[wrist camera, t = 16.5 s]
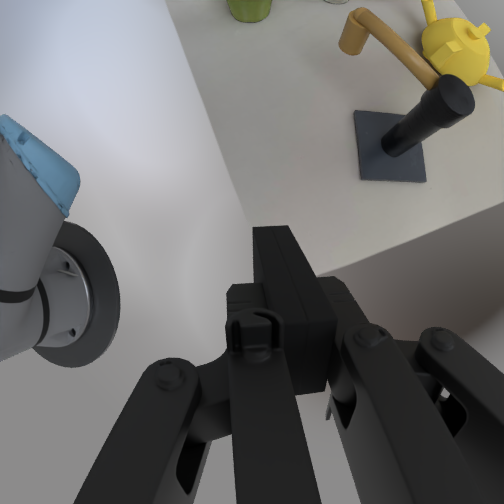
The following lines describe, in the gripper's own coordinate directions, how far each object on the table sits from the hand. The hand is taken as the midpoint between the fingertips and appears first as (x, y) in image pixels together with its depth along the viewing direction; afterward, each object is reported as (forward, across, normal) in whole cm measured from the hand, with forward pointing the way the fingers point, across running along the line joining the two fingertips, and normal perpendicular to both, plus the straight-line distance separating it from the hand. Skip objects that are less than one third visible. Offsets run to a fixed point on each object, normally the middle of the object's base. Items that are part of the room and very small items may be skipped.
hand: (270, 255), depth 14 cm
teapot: (+34, -36, -19) cm, 53 cm away
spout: (+21, -17, -11) cm, 29 cm away
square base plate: (+28, -21, -2) cm, 35 cm away
